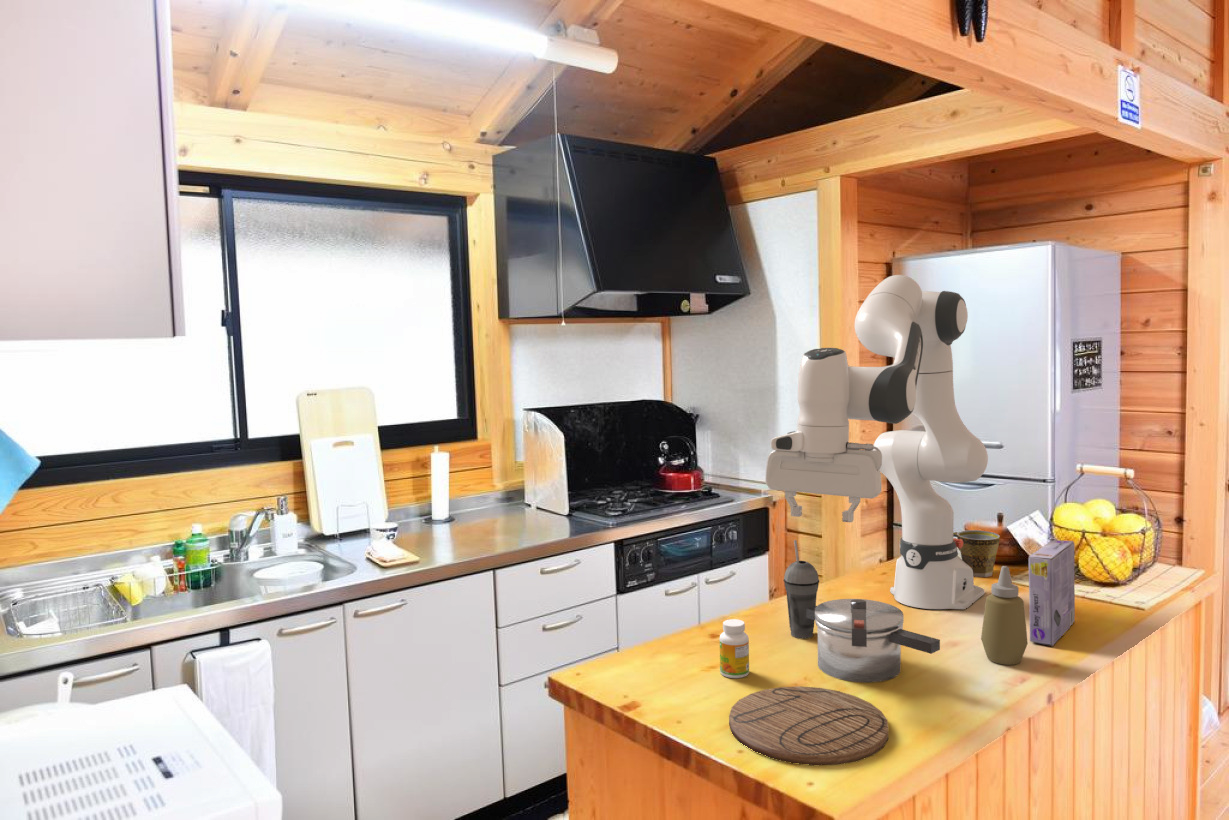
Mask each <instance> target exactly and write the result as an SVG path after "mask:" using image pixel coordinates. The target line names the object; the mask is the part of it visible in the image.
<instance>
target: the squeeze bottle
mask: <svg viewBox="0 0 1229 820" xmlns="http://www.w3.org/2000/svg"><path fill="white" fill-rule="evenodd" d="M990 587H991V590H990V591H991V594H990V593H989V595H987V596H986V597H985V604H984V612H983V621H982V627H981V628H982V629H981V635H980V640H981V643H982V646H983V649H984V653H985V655H986V658H987V659H988V660H989V661H991V662H992V663H995V664H999V665H1006V666H1007V665H1009V666H1010V665H1018V664H1020V663H1021V662H1022V659H1023V656H1024V654H1025V651H1026V650H1027V646H1028V633H1027V622H1026V620H1027V619H1026V613H1025V612H1026V611H1025V601H1024V600H1023V598H1021V596H1019V586H1018V585H1017V584H1014V583H1013V581H1012V576H1011V573H1010V567H1009V566H1008V565H1002V566H1001V569H1000V573H999V577H998V580H997V582H994V583H992V584H991V586H990Z"/></svg>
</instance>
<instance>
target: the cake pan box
mask: <svg viewBox="0 0 1229 820" xmlns="http://www.w3.org/2000/svg"><path fill="white" fill-rule="evenodd" d="M1028 591H1029V592H1028V597H1029V599H1028V602H1029V604H1028V605H1029V619H1028V620H1029V642H1032V643H1037V644H1041V645H1045V646H1049V647H1054V646H1055V644H1056V643H1057V641H1059V639H1061V638H1062V637H1061V636H1063V634H1064V633H1065V632H1066V631H1067V632H1068V630H1069V629H1070V628H1071V627H1072V626H1073V622H1074V623H1075V617H1076V616H1075V610H1076V609H1075V606H1076V605H1075V602H1076V601H1075V599H1076V598H1075V596H1076V595H1075V592H1076V591H1075V542H1074V540H1058V539H1056V540H1055V539H1052V540H1051V541H1049V542H1048V543H1046V544H1045V545H1043V546H1042V547H1041V548H1038V550H1036V551H1035V552H1034V553H1031V554H1030V555H1029V556H1028ZM1071 625H1072V626H1071ZM1070 626H1071V627H1070ZM1067 632H1066V633H1067ZM1066 633H1065V634H1066ZM1065 634H1064V635H1065ZM1063 637H1064V636H1063Z"/></svg>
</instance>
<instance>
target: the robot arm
mask: <svg viewBox="0 0 1229 820" xmlns="http://www.w3.org/2000/svg"><path fill="white" fill-rule="evenodd" d="M968 313H969V312H968V308H967V305H966V301H965V299H964V297H962V295H960V293H958V292H954V291H948V290H942V291H932V290H931V291H928V290H924V291H923V290H922V288H921V286H920V285H919V283H918V282H917V281H916V280H915V279H913V278H911V277H909V276H907V275H903V274H895V275H890V276H888V277H885V278H884V279H883V280H882V281H881V282H879V283H878V284H877V285H876V286H875V287H874V288H873V289H872V290H871V291H870V292H869V294H868V295H867V296H866V298H865V299H864V301H863V302H862V304H861V306H860V307H859V309H858V310H857V313H856V315H855V320H854V332H855V336H857V339H858V341H859V342H860V344H861V345H862V346H863V347H864V348H865V349H867V350H868V351H869V352H872V353H873V354H875V355H879V356H884V357H891V358H894V361H893V363H892V364H890V365H885V366H850V365H849V364H848V363H849V362H848V356H847V353H846V351H845V350H844V349H842V348H837V347H821V348H813V349H810V350H808V351H806V352H804V354H803V355H802V357H801V361H800V364H799V373H798V380H797V403H798V406H799V414H798V418H797V424H796V426H797V427H796V428H797V429H796V431H795V430H793V431H790V432H787V433H786V434H781V435H779V436H775V437H773V438H771V439H770V448H771V449H772V451H771V452H770V453H769V454H768V456H767V460H766V467H765V484H766V486H767V488H768V489H769V490H772V491H773V490H775V491H784V498H785V500H786V502H787V503H788V505H789V507H790V516H791V517H798V518H799V517H801V516H802V515H803V512H802V510H803V505H799V504H798V502H797V500H796V498H795V496H797V493H806V494H816V495H827V496H839V497H848V503H849V504H850V505H849V508H848V509H847V510H843V511H842V512H841V515H842V518H841V521H842V522H844V523H853V522H854V516H855V515H854V514H855V511H856V510H857V508H858V506H859V505H860V503H861V499H871V500H872V499H875V498H876V497H878V496H879V495H880V494H881V493H882V475H881V474H883V475H884V477H886V479H887V480H888V481H889V483H890V484H891V486H892V487H893V489H894V491H895V493H896V495H897V498H898V501H899V504H900V514H901V530H902V531H901V535H902V536H901V538H900V539H899V540H900V542H899V553H900V555H901V556H899V557H898V558H897V559H896V563H895V574H894V585H893V586H891V587H890V588H889V589H890V590H889V592H890V593H891V594H892V595H893V596H894V597H893V598H894V600H895V601H897V603H901V604H903V605H905V606H908V607H913V608H920V609H924V610H925V609H926V610H948V609H949V610H950V609H951V610H967V609H968V608H969V607H970V606H971V605H972V603H973V604H974V603H975V602H977V600H979V599H980V598H981V597H983V596H984V595H985V593H986V592H985V589H984V588H982V587H980V586H979V585H975V584H974V580H975V579H974V578H975V577H973V570H972V568H971V567H970V566H968V565H967V564H966V563H965V562H964V561H963V560H962V558H960V556H959V553H958V552H959V551H958V548H962V547H963V541H962V539H957V537H956V538H954V536H953V533H954V521H955V520H954V518H955V517H954V514H955V513H954V509H953V507H952V505H951V503H950V501H948V500H947V499H946V498H944V497H942V496H941V495H939V493H937V492H936V491H935V489H934V487H933V486H932V484H931V481H933V482H943V483H954V484H955V483H956V484H957V483H969V482H975V481H977V480H979V479H980V478H981V477H982V476H983V474H984V473H985V472H986V470H987V466H988V464H989V463H988V462H989V456H988V455H989V454H988V451H987V448H986V447H985V445H984V442H983V441H982V440H981V439H980V438H978V437H977V436H976V435H975V434H973V433H972V432H971V431H970V430H969V429H968V428H967V426H966V425H965V423H964V421H963V420H962V419H961V416H960V415H959V411H958V409H957V406H956V401H955V389H954V388H955V387H954V366H953V365H954V363H953V353H952V351H953V350H952V347H951V345H952V344H953V342H954V341H956V340H958V339H959V338H960V337H961V336H962V335H963V334H964V332H965V330H966V328H967V324H968V317H969V316H968ZM910 415H912V416H914V417H916V418H917V419H919V421H920V422H921V423H922V425H923V428H924V429H925V431H922V430H908V429H907V430H906V429H900V430H899V429H898V430H892V431H886V432H882V433H880V434H879V435H878V436H877V438H876V439H875V441H874V443H873V444H872V443H860V442H850V434H849V433H850V421H849V420H856V421H857V420H859V421H874V422H880V423H887V424H893V425H896V424H900V423H901V422H902V421H904V420H905V419H907V418H908V417H909V416H910ZM953 538H954V539H953ZM966 608H967V609H966Z"/></svg>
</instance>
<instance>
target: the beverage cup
mask: <svg viewBox="0 0 1229 820" xmlns="http://www.w3.org/2000/svg"><path fill="white" fill-rule="evenodd" d="M793 545H794V551H795V558H796V561H794V562H791V563H790V564H789V565H788V567H787V568H786V569H785V572H784V575H783V577H784V578H783V583H784V588H785V592H786V602H787V613H788V620H789V621H788V623H789V628H790V629H789V630H790V636H792V637H793V638H796V639H809V638H810V639H811V638H812V637H813V635H814V628H815V620H813V619H809V618H806V609H807V608H810V607H813V606H817V596H818V595H817V594H818V593H817V592H818V590H819V586H820V585H819V583H820V578H819V574H818V571H817V569H816V567H814V565H813V564H811V563H810V562H809V561H806V560H800V558H799V549H798V543H797V540H796V539H794V540H793Z"/></svg>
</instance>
